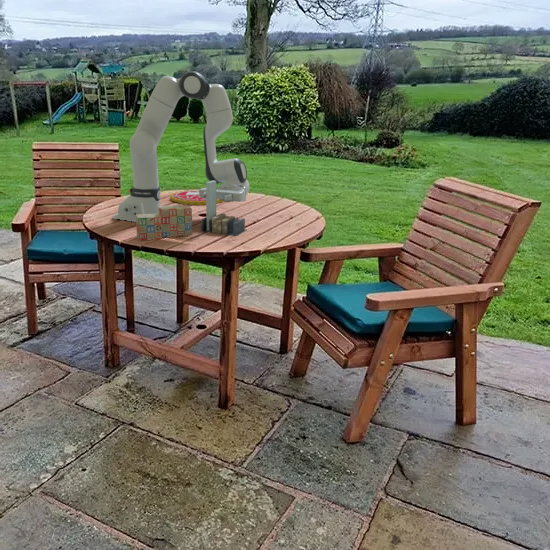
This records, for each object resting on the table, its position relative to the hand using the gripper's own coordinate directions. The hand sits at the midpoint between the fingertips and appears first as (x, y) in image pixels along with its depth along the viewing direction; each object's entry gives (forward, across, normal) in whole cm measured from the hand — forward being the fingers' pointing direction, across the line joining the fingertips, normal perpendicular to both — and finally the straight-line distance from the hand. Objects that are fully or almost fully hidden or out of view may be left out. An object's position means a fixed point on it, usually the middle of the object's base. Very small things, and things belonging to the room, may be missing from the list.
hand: (213, 197), depth 222 cm
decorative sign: (-53, -37, +15) cm, 66 cm away
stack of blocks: (+19, -13, +14) cm, 27 cm away
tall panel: (+2, 0, +13) cm, 13 cm away
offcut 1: (+2, +3, +13) cm, 14 cm away
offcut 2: (+2, +6, +13) cm, 14 cm away
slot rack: (+2, +6, +14) cm, 15 cm away
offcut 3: (+2, +8, +13) cm, 16 cm away
